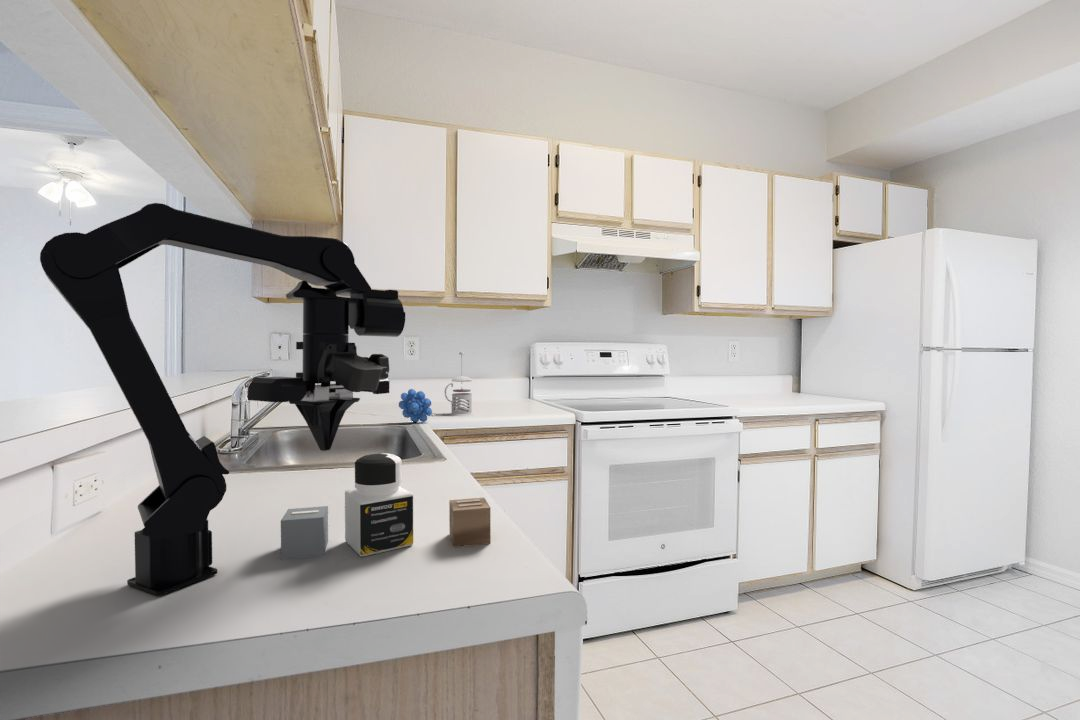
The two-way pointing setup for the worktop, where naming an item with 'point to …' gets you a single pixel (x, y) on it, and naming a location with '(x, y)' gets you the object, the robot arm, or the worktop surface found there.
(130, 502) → the worktop surface
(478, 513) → the walnut block two
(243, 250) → the robot arm
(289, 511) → the slate block one
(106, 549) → the worktop surface
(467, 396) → the french press
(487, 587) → the worktop surface
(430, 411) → the blue knobby cluster
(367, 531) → the medicine bottle
